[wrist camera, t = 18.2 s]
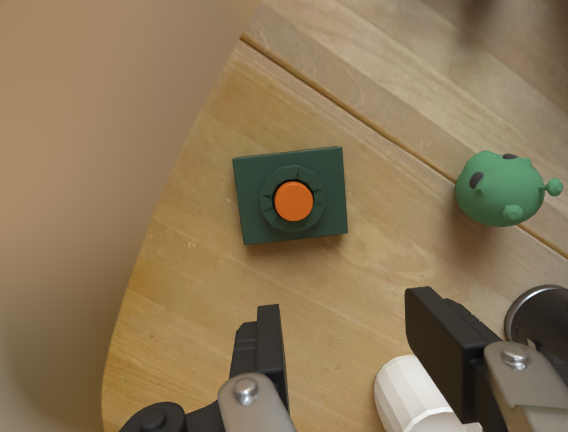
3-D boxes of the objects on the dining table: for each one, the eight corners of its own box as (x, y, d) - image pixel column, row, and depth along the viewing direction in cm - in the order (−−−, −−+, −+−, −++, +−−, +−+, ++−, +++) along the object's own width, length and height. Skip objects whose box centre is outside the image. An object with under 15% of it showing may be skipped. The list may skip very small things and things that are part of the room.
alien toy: (484, 134, 38) (558, 134, 29) (513, 194, 40) (592, 213, 30) (427, 170, 39) (481, 181, 29) (458, 227, 41) (518, 256, 31)
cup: (399, 432, 46) (434, 509, 37) (352, 383, 44) (375, 451, 35) (458, 388, 45) (509, 455, 36) (412, 336, 43) (453, 393, 34)
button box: (337, 146, 38) (345, 147, 34) (343, 227, 40) (351, 237, 36) (234, 157, 38) (230, 160, 34) (245, 239, 40) (242, 250, 36)
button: (309, 179, 35) (311, 181, 33) (312, 215, 36) (314, 219, 34) (272, 183, 35) (272, 185, 33) (276, 219, 36) (277, 223, 34)
